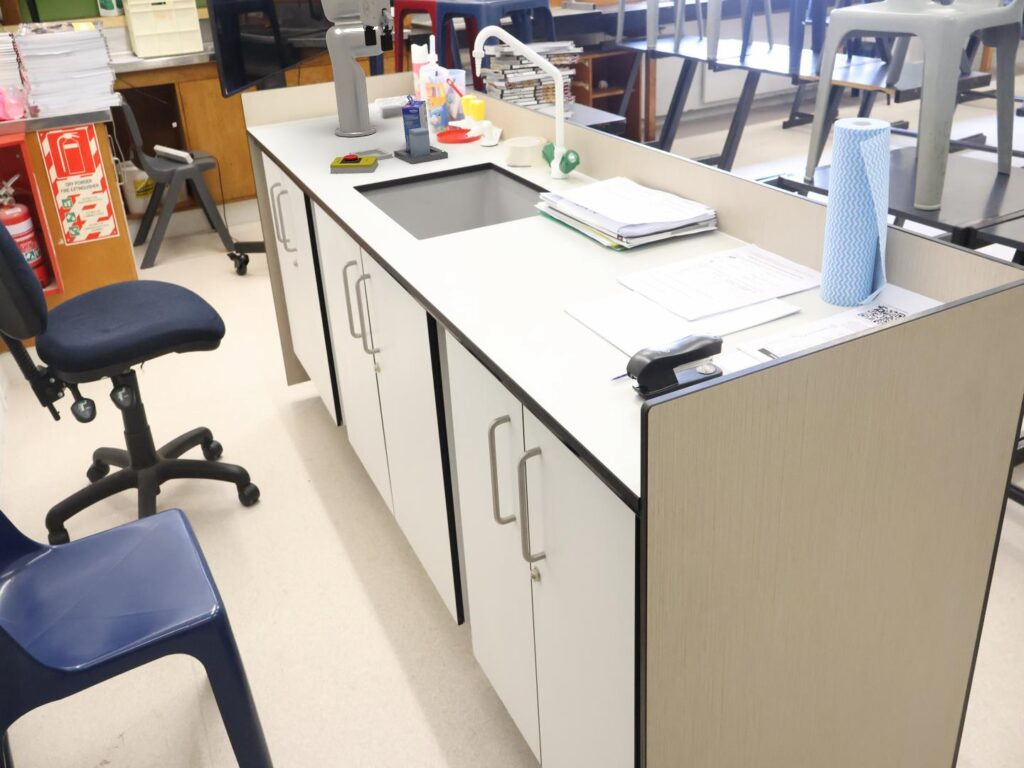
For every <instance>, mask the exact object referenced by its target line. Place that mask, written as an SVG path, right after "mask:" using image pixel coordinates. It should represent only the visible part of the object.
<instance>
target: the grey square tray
mask: <svg viewBox="0 0 1024 768" xmlns="http://www.w3.org/2000/svg"><path fill="white" fill-rule="evenodd" d="M348 155H358V156H377V161H381V160H389V159H392V158H394V157H393V156H394V155H393V153H391V152H389V151H386V150H384V149H382V148H380V147H377V148H371V149H366V150H359V151H353V152H349V153H348Z"/></svg>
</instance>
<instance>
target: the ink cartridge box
mask: <svg viewBox="0 0 1024 768" xmlns="http://www.w3.org/2000/svg"><path fill="white" fill-rule="evenodd" d="M406 98H407V102H406V103H405V104H404V105H403V107H402V108H401V111H402V113H401V115H402V122H403V130H404V137H405V145H406V148H405V149H409V148H410V136H409V129H415V128H425V129H427V130H429V122H428V113H427V111H428V110H427V103H426V102H427V101H426V100H414V98H413V97H412V95H411V94H409V93H408V95H407V96H406ZM430 142H431V141H430V140H429V143H430Z"/></svg>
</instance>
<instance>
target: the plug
mask: <svg viewBox="0 0 1024 768" xmlns="http://www.w3.org/2000/svg"><path fill="white" fill-rule="evenodd" d="M429 131H430V130H429V129H428V130H427V129H425V128H415V129H409V136H410V148H411V155H413V156H419V155H425V154H430V146H431V145H430V144H431V143H430V142H429V141H430V132H429Z"/></svg>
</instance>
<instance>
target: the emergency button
mask: <svg viewBox="0 0 1024 768" xmlns="http://www.w3.org/2000/svg"><path fill="white" fill-rule="evenodd" d="M329 165H330V167H329V168H330V174H332V175H333V174H334V175H337V174H338V175H339V174H370V173H374V172H375V171H376V170H377V168H378V166H379V160H377V156H358V155H349V154H346V155H344V156H337V157H335V158H334V159H333V160H332V162H331V163H330V164H329Z"/></svg>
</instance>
